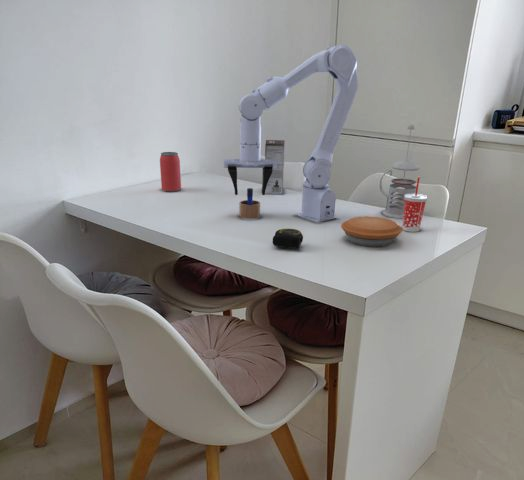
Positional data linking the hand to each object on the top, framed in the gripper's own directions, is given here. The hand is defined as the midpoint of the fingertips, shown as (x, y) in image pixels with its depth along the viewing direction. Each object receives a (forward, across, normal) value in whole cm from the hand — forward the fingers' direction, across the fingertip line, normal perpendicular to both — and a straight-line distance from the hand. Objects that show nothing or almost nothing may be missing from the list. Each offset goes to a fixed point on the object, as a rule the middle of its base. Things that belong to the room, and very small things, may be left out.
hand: (249, 194), depth 154 cm
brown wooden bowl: (+6, 0, 0) cm, 7 cm away
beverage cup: (+7, +44, -13) cm, 46 cm away
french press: (+7, +44, +4) cm, 45 cm away
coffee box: (+7, +10, +33) cm, 36 cm away
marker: (+6, 0, 0) cm, 6 cm away
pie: (+7, +30, -22) cm, 38 cm away
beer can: (+7, -25, +34) cm, 43 cm away
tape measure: (+7, +8, -28) cm, 30 cm away
